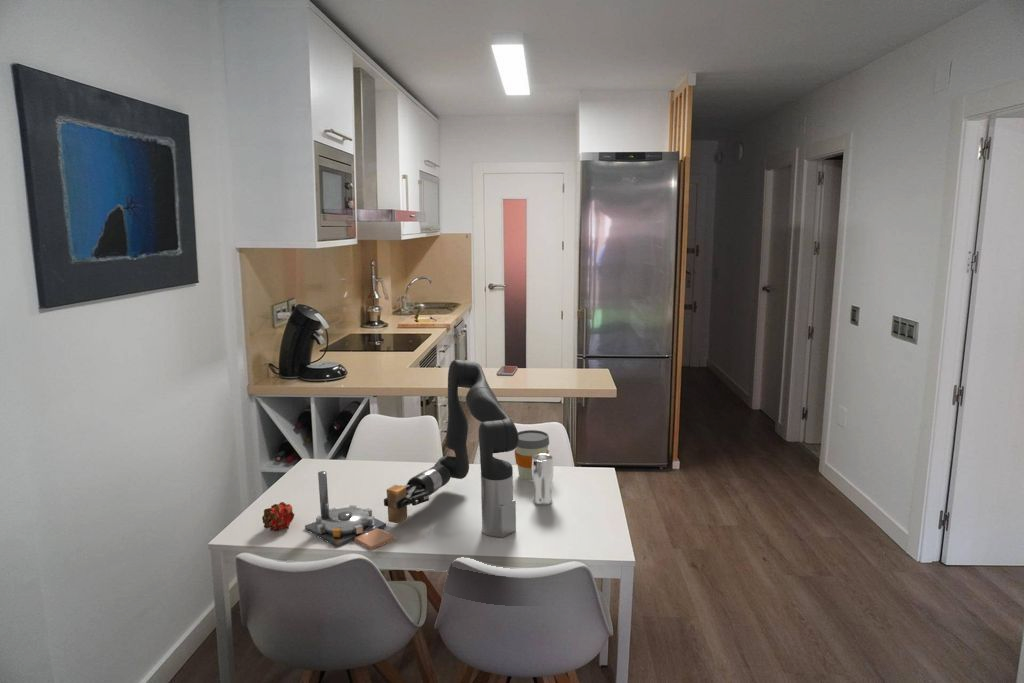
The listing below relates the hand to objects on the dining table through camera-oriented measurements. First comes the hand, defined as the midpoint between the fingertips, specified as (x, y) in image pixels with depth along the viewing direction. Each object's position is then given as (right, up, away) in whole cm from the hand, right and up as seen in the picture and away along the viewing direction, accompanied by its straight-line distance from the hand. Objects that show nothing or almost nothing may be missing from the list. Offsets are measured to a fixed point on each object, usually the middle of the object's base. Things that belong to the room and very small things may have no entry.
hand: (391, 504), depth 199 cm
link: (+1, -6, +4) cm, 7 cm away
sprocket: (-14, -7, +3) cm, 16 cm away
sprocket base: (-14, -8, +4) cm, 17 cm away
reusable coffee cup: (+42, 0, +42) cm, 59 cm away
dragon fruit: (-34, -8, +4) cm, 35 cm away
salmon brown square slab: (-4, -9, -4) cm, 11 cm away
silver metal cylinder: (+45, -4, +20) cm, 50 cm away
